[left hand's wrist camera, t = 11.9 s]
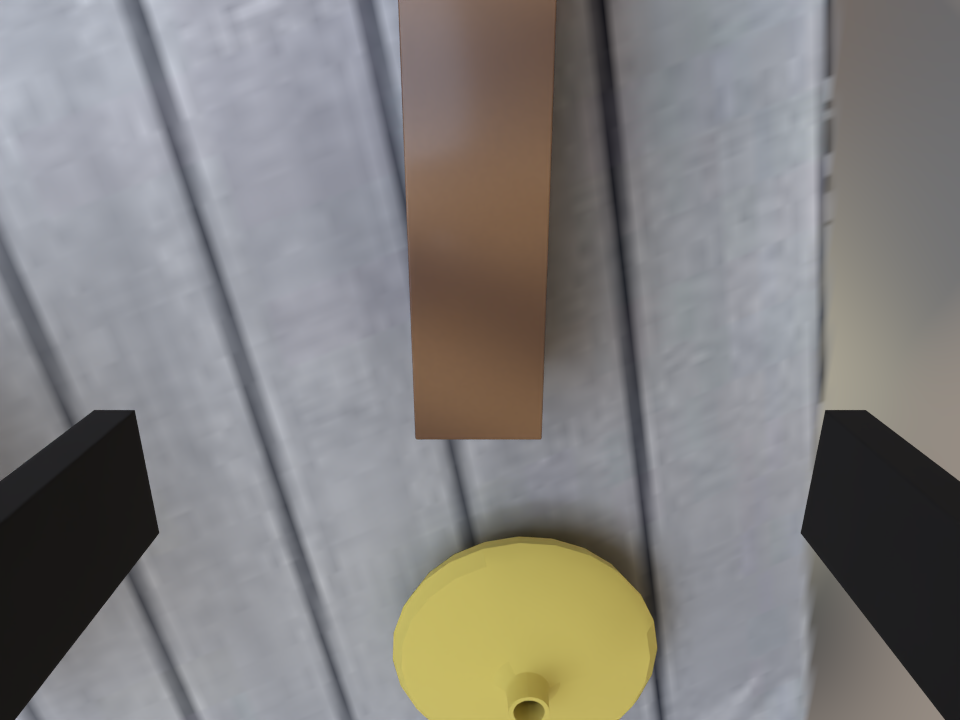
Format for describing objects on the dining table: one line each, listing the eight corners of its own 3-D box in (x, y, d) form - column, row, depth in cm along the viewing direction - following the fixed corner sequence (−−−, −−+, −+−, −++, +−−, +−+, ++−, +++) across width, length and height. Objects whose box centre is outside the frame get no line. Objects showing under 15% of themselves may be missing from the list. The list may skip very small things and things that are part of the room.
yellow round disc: (359, 661, 43) (337, 759, 36) (465, 473, 38) (461, 547, 32) (569, 740, 46) (583, 846, 39) (693, 573, 41) (734, 661, 34)
